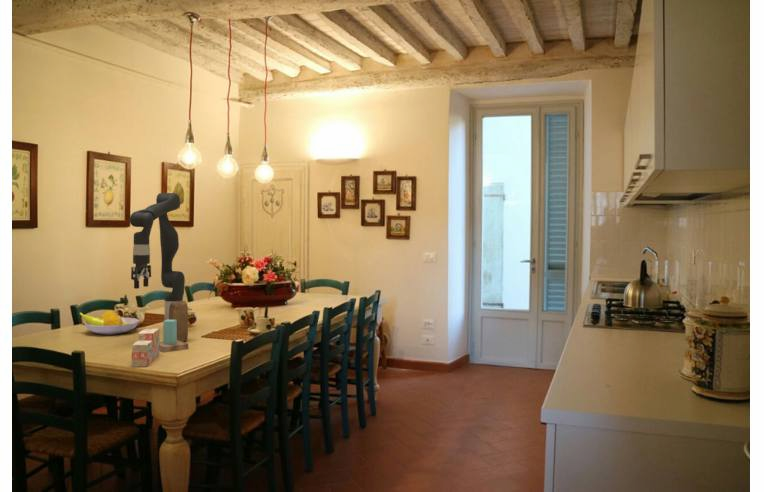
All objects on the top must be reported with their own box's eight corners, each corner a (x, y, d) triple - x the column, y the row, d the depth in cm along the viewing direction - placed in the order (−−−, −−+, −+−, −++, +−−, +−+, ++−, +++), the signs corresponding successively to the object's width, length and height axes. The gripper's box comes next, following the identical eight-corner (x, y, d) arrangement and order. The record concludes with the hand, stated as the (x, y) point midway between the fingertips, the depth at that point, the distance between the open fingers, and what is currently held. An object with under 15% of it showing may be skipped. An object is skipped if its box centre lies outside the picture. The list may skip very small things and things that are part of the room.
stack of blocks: (147, 366, 236) (147, 337, 235) (131, 367, 235) (131, 337, 234) (159, 354, 257) (159, 327, 256) (145, 355, 256) (145, 328, 256)
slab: (177, 345, 278) (177, 339, 278) (188, 350, 269) (188, 343, 269) (152, 349, 270) (152, 343, 270) (163, 353, 261) (163, 347, 261)
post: (167, 342, 272) (167, 319, 271) (176, 342, 272) (176, 319, 271) (163, 344, 267) (163, 321, 266) (172, 344, 267) (172, 321, 266)
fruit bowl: (146, 328, 319) (146, 308, 318) (125, 337, 292) (126, 315, 291) (95, 327, 318) (95, 307, 317) (70, 337, 291) (70, 315, 290)
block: (188, 342, 285) (189, 302, 284) (173, 343, 280) (174, 303, 279) (181, 338, 293) (182, 299, 292) (167, 339, 289) (167, 300, 288)
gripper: (141, 254, 266) (141, 289, 266) (156, 253, 280) (156, 286, 280) (125, 254, 266) (125, 288, 267) (141, 253, 280) (141, 285, 281)
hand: (141, 287), depth 274 cm, fingers open, 8 cm apart
